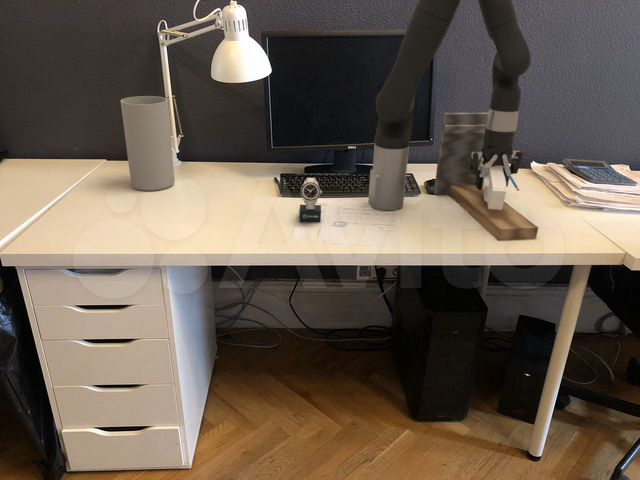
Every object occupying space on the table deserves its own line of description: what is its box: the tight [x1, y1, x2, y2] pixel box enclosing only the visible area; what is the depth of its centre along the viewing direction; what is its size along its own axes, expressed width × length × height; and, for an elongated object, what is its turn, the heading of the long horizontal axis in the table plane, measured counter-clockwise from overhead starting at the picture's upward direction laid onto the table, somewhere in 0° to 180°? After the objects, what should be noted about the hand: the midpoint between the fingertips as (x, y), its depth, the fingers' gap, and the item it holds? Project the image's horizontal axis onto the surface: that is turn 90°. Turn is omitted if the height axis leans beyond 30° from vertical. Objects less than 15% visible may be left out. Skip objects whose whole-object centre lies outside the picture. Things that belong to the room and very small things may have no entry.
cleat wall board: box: [433, 111, 539, 241], centre depth 142 cm, size 18×34×24 cm, turn 10°
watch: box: [298, 177, 323, 223], centre depth 138 cm, size 6×8×11 cm
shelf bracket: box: [481, 157, 507, 210], centre depth 146 cm, size 6×25×13 cm, turn 171°
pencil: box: [509, 175, 520, 191], centre depth 173 cm, size 1×17×1 cm, turn 172°
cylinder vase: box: [120, 95, 176, 192], centre depth 156 cm, size 12×12×25 cm
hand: (490, 188), depth 145 cm, fingers closed on shelf bracket, 6 cm apart
